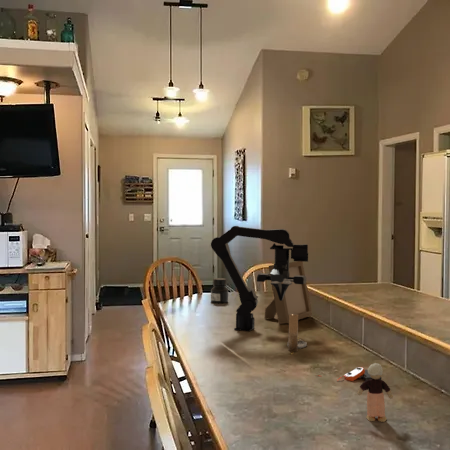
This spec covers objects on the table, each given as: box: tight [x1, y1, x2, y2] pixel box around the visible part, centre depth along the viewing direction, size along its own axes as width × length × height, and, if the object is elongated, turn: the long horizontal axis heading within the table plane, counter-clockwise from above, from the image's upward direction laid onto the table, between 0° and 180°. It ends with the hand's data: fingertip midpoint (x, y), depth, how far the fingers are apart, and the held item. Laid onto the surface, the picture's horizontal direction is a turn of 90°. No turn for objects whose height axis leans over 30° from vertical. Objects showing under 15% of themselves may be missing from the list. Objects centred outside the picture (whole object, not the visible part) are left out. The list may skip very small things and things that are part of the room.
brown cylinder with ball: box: [286, 314, 308, 353], centre depth 178 cm, size 6×11×12 cm, turn 162°
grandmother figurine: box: [356, 362, 394, 423], centre depth 119 cm, size 8×4×13 cm, turn 92°
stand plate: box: [290, 336, 304, 355], centre depth 181 cm, size 20×15×2 cm
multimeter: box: [314, 366, 382, 383], centre depth 147 cm, size 18×12×3 cm, turn 92°
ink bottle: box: [210, 277, 229, 304], centre depth 272 cm, size 10×9×12 cm
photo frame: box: [264, 261, 313, 325], centre depth 230 cm, size 15×22×25 cm
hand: (281, 300), depth 207 cm, fingers closed
